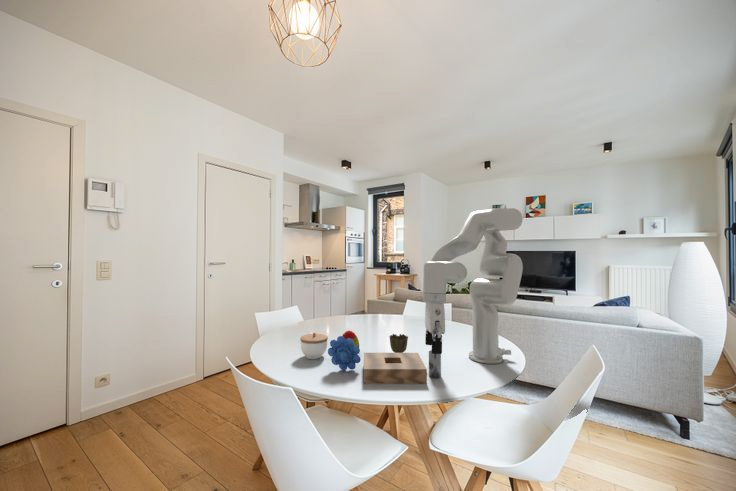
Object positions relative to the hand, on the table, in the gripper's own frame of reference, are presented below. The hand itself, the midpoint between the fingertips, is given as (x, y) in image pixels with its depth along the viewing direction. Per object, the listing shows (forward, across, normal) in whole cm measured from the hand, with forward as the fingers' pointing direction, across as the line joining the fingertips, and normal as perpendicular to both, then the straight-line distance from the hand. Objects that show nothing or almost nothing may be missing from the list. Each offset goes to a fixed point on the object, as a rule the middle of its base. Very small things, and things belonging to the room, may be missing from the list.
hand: (433, 349), depth 101 cm
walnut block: (+10, +3, +13) cm, 16 cm away
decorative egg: (+10, +21, +29) cm, 37 cm away
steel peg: (+9, +1, -1) cm, 9 cm away
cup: (+9, +21, +9) cm, 24 cm away
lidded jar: (+10, +20, +43) cm, 48 cm away
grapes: (+10, +5, +30) cm, 32 cm away
